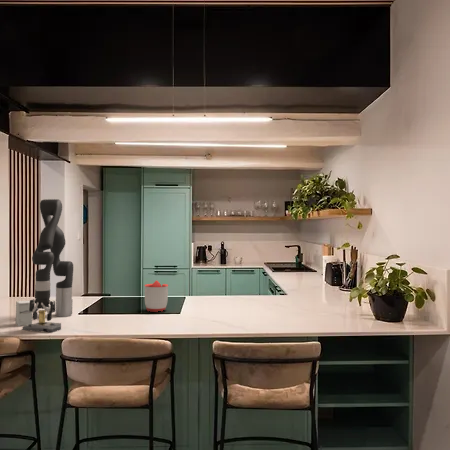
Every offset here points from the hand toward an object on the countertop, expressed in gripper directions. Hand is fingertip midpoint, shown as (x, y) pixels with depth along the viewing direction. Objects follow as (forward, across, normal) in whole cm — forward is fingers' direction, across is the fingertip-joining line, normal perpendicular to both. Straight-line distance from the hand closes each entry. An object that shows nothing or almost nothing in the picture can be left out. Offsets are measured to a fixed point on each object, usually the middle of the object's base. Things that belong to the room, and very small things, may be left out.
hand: (42, 319), depth 221 cm
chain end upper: (+5, -3, 0) cm, 6 cm away
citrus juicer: (+5, -36, -67) cm, 76 cm away
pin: (+5, 0, 0) cm, 5 cm away
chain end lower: (+5, +3, 0) cm, 6 cm away
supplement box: (+5, +17, -7) cm, 19 cm away
